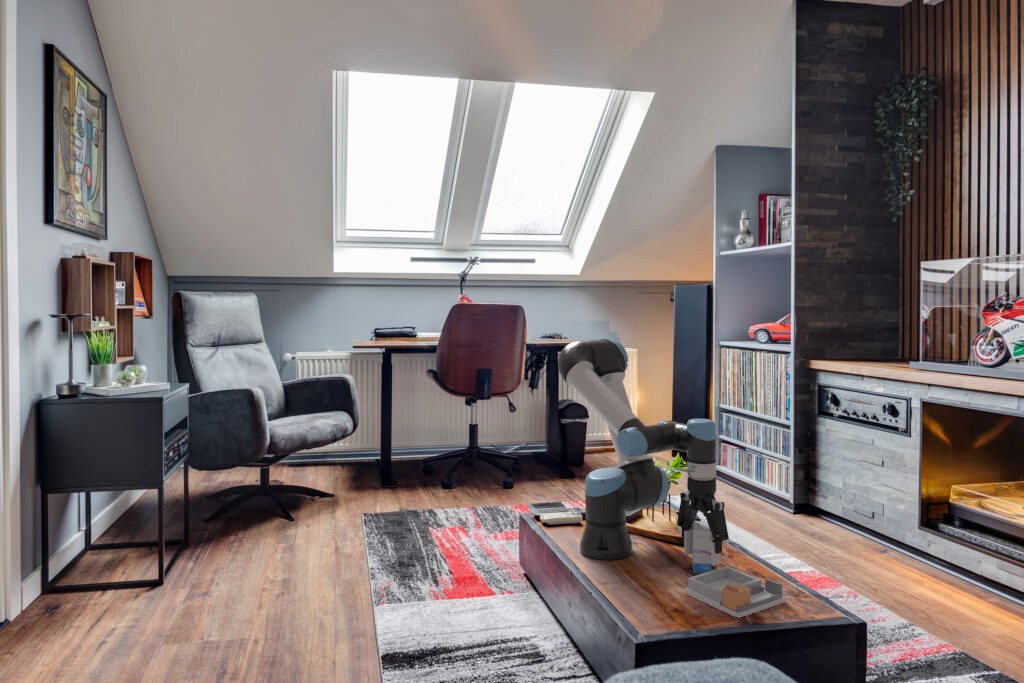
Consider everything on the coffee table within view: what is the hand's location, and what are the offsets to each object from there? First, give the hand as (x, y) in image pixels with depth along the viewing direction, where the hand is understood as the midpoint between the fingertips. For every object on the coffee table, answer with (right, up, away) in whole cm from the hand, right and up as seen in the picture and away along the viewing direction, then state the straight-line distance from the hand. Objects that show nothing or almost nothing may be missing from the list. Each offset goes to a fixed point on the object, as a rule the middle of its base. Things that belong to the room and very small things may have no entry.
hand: (702, 558), depth 195 cm
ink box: (0, -3, 0) cm, 3 cm away
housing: (+3, -4, -19) cm, 20 cm away
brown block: (+1, -3, -27) cm, 27 cm away
